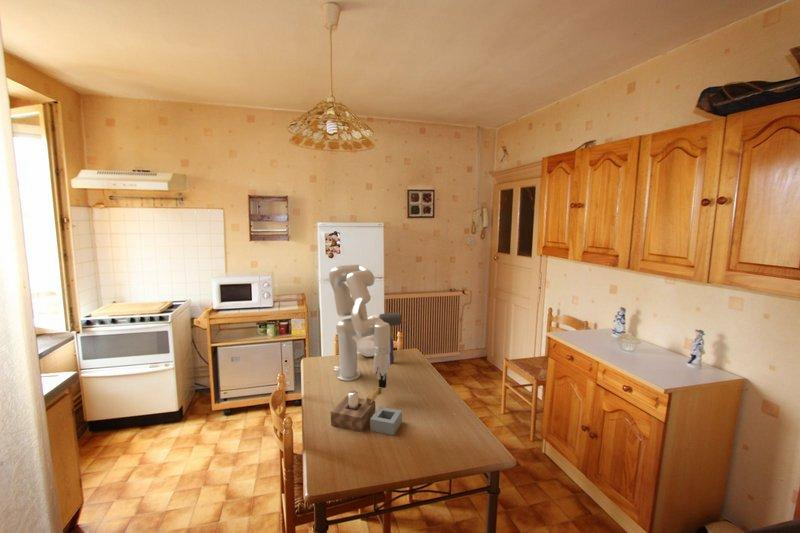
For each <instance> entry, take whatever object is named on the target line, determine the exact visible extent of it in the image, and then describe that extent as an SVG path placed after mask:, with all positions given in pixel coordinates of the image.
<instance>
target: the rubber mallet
mask: <svg viewBox="0 0 800 533" xmlns="http://www.w3.org/2000/svg"><path fill="white" fill-rule="evenodd" d="M378 316H379V318H380V319H382V320H383V321H384V322H386V323H388V324H389V325H390V364H393V363H394V361H395V359H394V338H393V327H395V326H400V325H401V324H402V315H401V313H400V312H387V313H380V314H379V315H378Z"/></svg>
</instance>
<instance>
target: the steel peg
mask: <svg viewBox="0 0 800 533" xmlns="http://www.w3.org/2000/svg"><path fill="white" fill-rule="evenodd" d="M347 396H349V409H350V410H355V411H357V410H358V398H359V391H358V390H350V391H349V392H348V394H347Z"/></svg>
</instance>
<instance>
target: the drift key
mask: <svg viewBox="0 0 800 533" xmlns="http://www.w3.org/2000/svg"><path fill="white" fill-rule="evenodd" d="M382 394H383V388H381V387H379V386H378V387H377V386H374V387H373V390H372V391H371V393H370V394H369V395H368V396H367V397H366V399H367V404H372V403H373V401H376V399H377V398H378V396H380V395H382Z"/></svg>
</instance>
